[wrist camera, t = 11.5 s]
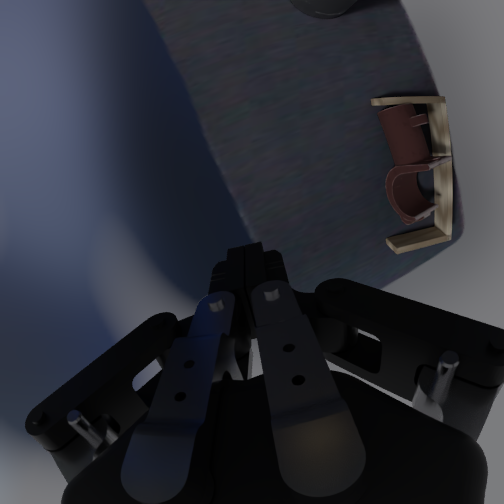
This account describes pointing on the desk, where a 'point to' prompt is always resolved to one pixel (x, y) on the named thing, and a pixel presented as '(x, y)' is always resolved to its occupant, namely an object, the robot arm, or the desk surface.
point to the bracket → (408, 161)
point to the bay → (441, 176)
